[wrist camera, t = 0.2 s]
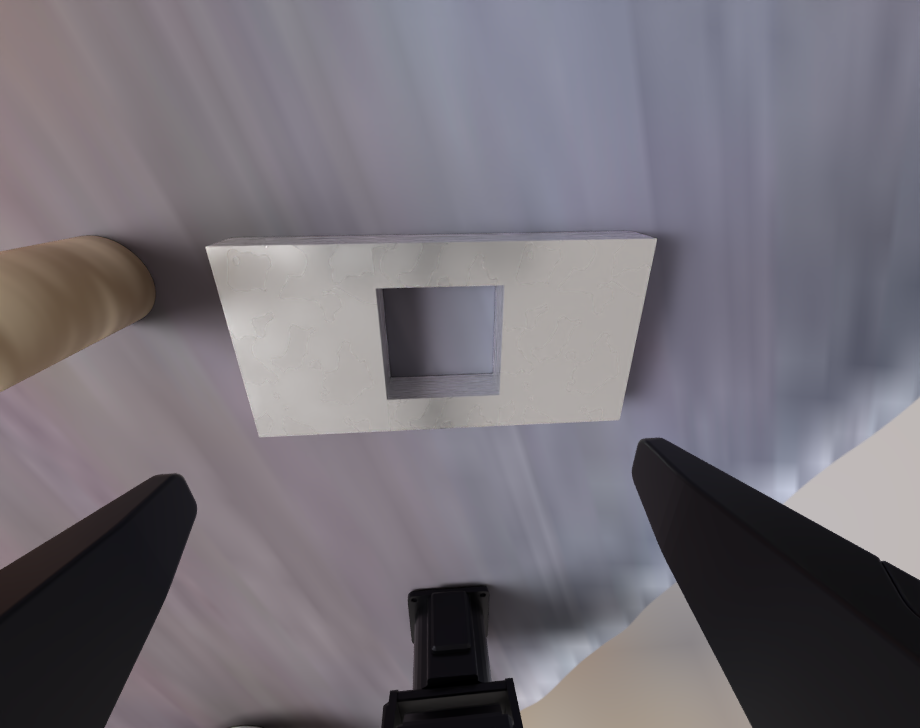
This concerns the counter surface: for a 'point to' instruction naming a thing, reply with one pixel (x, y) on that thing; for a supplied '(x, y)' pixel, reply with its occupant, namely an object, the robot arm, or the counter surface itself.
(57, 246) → the peg
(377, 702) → the counter surface
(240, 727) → the chinaware
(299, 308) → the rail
